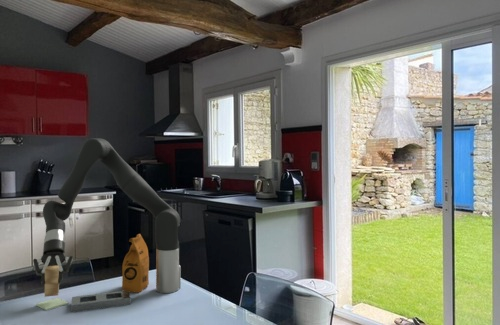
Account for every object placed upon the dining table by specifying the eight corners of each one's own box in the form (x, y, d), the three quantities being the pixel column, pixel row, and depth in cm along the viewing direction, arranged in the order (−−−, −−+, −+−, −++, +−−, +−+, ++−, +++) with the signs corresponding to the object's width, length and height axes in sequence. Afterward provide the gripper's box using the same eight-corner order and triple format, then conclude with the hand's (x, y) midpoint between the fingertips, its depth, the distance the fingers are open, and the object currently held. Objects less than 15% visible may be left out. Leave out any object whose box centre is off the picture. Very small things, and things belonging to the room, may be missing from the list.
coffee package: (117, 292, 156) (118, 238, 156) (130, 283, 168) (130, 233, 168) (141, 293, 155) (141, 239, 155) (152, 284, 167) (152, 233, 167)
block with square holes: (127, 296, 151) (127, 290, 151) (130, 304, 143) (130, 297, 143) (72, 303, 144) (72, 296, 144) (71, 312, 135) (71, 305, 135)
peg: (58, 291, 145) (59, 265, 145) (58, 295, 141) (58, 268, 141) (45, 292, 143) (46, 266, 143) (44, 296, 139) (44, 269, 139)
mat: (57, 299, 148) (57, 297, 148) (68, 304, 143) (68, 302, 143) (35, 305, 141) (35, 303, 141) (46, 310, 137) (46, 308, 137)
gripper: (33, 239, 146) (28, 280, 135) (74, 237, 152) (73, 276, 141) (34, 250, 151) (30, 290, 140) (74, 247, 157) (73, 286, 146)
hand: (51, 283), depth 141 cm, fingers closed on peg, 4 cm apart
